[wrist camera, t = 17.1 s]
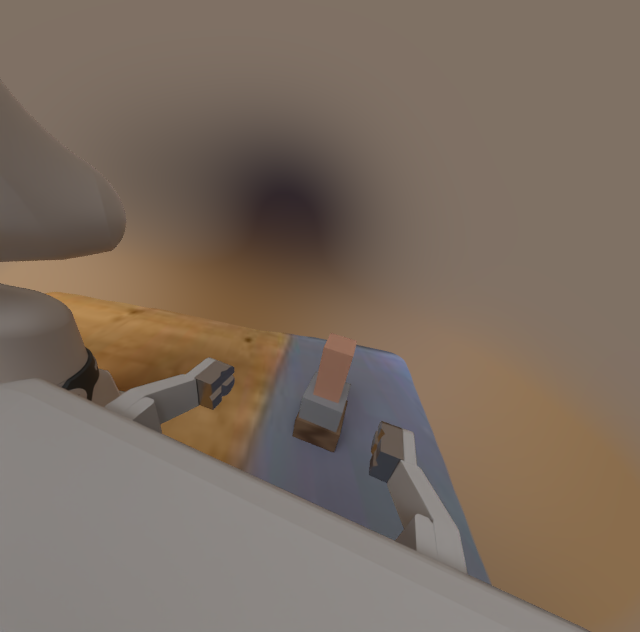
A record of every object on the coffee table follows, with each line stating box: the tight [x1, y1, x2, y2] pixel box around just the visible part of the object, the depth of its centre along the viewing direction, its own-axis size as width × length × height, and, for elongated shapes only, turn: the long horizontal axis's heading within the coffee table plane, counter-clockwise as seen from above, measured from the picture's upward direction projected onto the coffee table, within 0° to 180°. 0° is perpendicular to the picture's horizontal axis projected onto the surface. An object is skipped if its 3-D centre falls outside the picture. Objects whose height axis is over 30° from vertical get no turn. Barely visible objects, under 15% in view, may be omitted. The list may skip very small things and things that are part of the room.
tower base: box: [293, 400, 348, 452], centre depth 43 cm, size 8×8×5 cm
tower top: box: [299, 372, 351, 432], centre depth 41 cm, size 7×7×5 cm
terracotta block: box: [313, 333, 357, 403], centre depth 38 cm, size 4×4×10 cm
